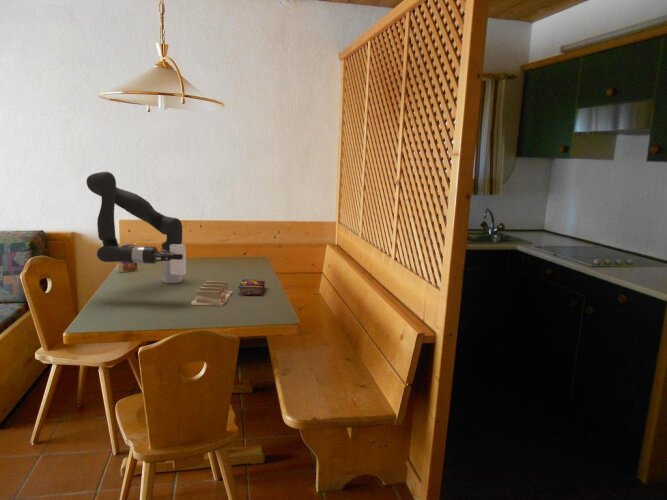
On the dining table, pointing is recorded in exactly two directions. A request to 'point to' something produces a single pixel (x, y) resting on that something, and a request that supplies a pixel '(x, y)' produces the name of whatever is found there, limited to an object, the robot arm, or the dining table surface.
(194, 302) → the slot rack
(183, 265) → the aluminium block
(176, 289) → the dining table surface
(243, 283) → the decorative book
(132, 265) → the candy box
